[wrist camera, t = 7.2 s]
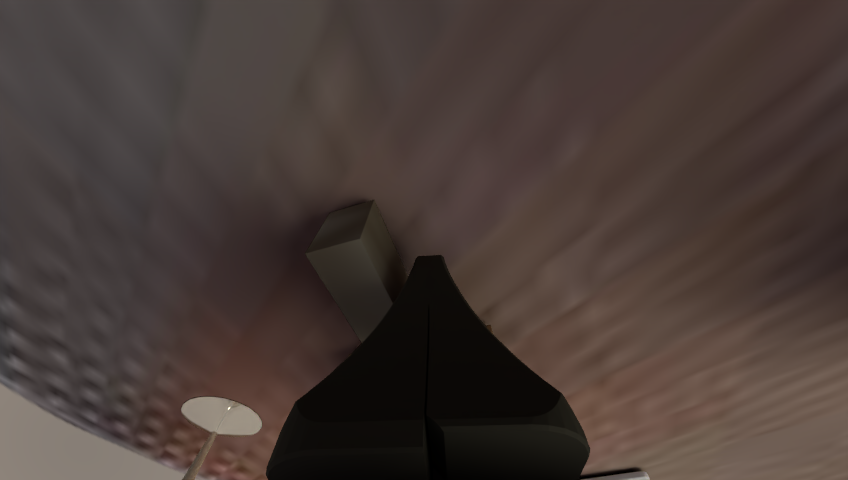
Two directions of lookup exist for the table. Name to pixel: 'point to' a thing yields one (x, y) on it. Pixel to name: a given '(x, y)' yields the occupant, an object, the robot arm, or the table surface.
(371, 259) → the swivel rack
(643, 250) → the table surface
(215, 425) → the wineglass
